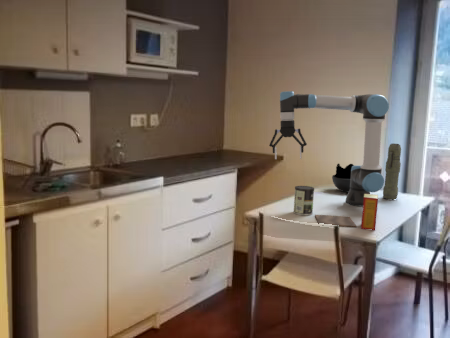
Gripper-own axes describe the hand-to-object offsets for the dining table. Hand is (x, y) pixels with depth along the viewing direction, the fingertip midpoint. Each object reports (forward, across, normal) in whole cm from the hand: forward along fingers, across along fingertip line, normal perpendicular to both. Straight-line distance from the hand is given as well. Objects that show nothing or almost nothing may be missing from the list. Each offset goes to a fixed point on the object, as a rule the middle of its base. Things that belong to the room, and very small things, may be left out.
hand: (288, 158), depth 265 cm
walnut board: (+30, -24, +21) cm, 44 cm away
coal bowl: (+30, -36, -62) cm, 77 cm away
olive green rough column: (+33, -62, -50) cm, 86 cm away
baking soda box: (+32, -39, +26) cm, 57 cm away
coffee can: (+29, -8, +8) cm, 31 cm away
